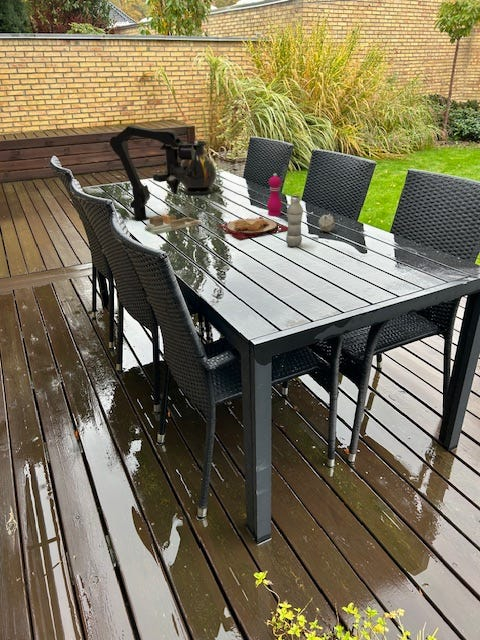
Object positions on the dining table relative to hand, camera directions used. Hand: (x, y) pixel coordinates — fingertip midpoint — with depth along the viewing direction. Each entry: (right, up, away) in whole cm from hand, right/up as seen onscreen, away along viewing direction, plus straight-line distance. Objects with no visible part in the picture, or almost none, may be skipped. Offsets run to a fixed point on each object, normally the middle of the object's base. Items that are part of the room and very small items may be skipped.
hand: (174, 194), depth 229 cm
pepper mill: (+48, -7, +12) cm, 50 cm away
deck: (0, -16, -4) cm, 17 cm away
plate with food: (+36, -18, -7) cm, 41 cm away
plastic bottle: (+53, -29, -30) cm, 67 cm away
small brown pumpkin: (+69, -20, -14) cm, 73 cm away
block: (-7, -17, -10) cm, 20 cm away
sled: (-6, -17, -9) cm, 20 cm away
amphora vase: (+6, +16, +57) cm, 59 cm away
